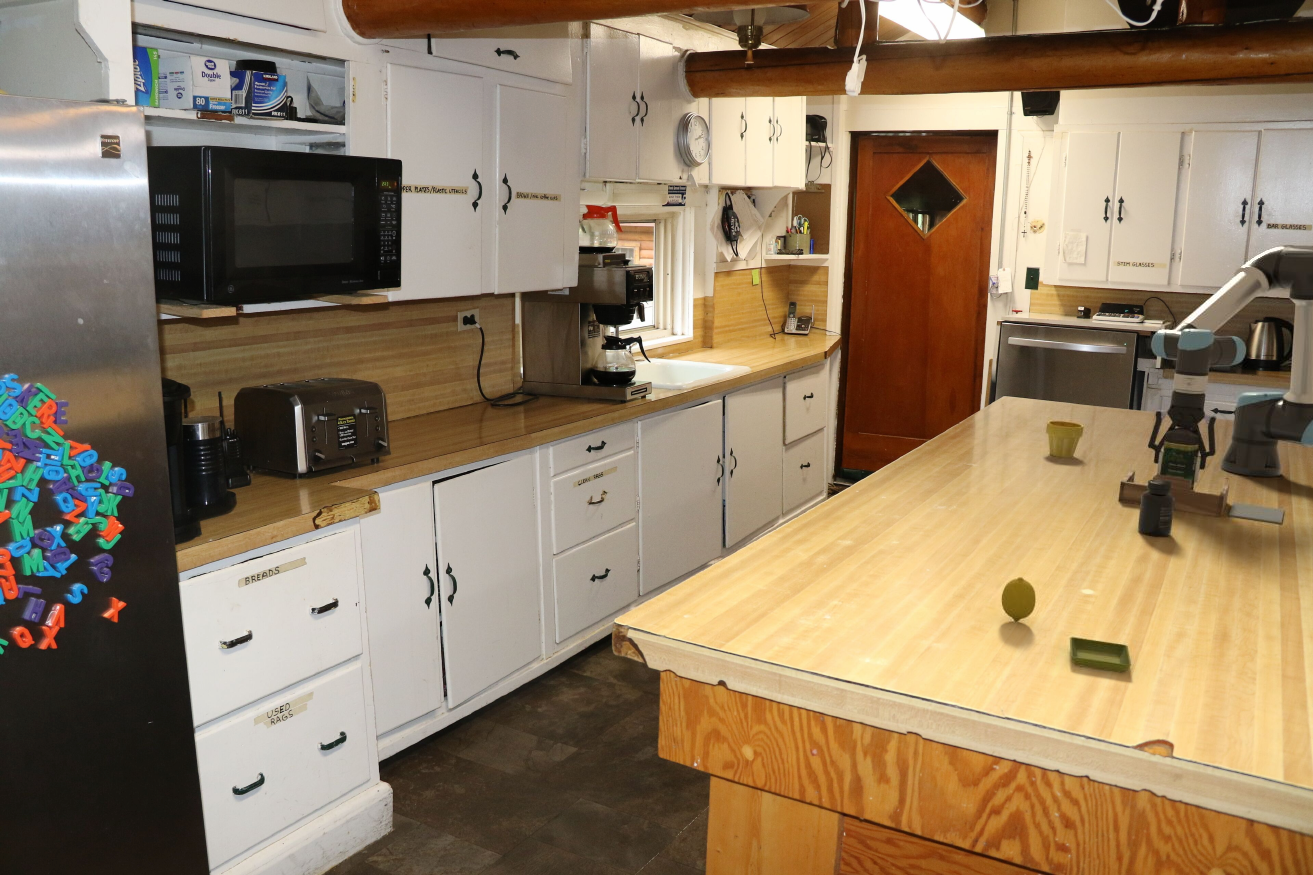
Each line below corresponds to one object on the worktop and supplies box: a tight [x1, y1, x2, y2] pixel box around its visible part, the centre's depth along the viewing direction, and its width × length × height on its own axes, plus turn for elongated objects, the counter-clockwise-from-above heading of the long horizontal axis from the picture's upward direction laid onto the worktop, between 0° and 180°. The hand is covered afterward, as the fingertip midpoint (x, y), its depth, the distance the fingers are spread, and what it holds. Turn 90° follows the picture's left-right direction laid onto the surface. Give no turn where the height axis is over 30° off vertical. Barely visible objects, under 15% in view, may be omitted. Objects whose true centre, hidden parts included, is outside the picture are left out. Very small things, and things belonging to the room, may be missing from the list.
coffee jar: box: [1160, 427, 1200, 490], centre depth 261 cm, size 10×8×19 cm
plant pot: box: [1045, 420, 1084, 459], centre depth 309 cm, size 10×10×10 cm
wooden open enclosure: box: [1118, 469, 1230, 518], centre depth 259 cm, size 16×23×5 cm
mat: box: [1228, 501, 1285, 525], centre depth 251 cm, size 14×11×1 cm
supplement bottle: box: [1137, 479, 1175, 538], centre depth 231 cm, size 7×7×12 cm
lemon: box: [1001, 576, 1037, 622], centre depth 177 cm, size 6×6×8 cm
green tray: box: [1069, 636, 1132, 673], centre depth 162 cm, size 9×9×2 cm
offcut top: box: [1152, 473, 1192, 491], centre depth 255 cm, size 4×8×2 cm, turn 51°
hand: (1177, 478), depth 262 cm, fingers closed on coffee jar, 8 cm apart
